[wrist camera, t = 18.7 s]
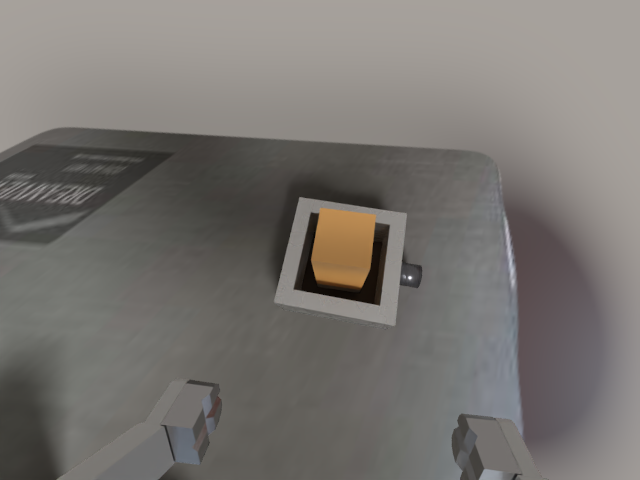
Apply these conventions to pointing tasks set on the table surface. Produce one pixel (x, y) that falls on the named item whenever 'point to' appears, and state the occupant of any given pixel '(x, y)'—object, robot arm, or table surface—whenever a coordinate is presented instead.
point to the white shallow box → (371, 315)
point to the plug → (343, 249)
